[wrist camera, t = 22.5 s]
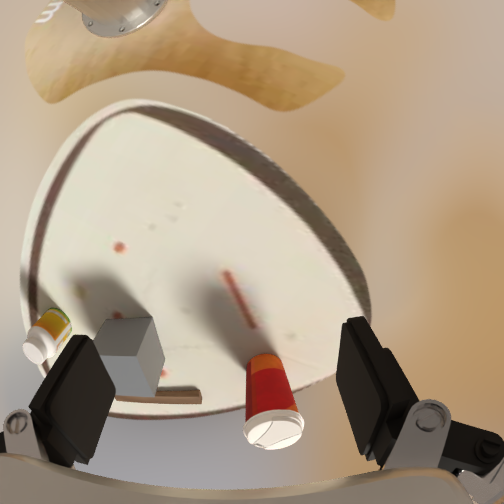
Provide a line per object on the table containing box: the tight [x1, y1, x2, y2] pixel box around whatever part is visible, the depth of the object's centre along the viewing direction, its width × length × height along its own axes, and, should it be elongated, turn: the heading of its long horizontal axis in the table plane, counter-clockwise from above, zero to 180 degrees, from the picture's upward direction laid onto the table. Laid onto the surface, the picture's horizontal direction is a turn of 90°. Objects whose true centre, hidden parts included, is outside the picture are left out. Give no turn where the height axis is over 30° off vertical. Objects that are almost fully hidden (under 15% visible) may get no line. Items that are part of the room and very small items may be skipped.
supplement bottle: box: [23, 308, 72, 364], centre depth 36 cm, size 5×5×10 cm
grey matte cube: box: [93, 317, 165, 397], centre depth 37 cm, size 8×8×9 cm
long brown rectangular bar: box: [115, 390, 202, 404], centre depth 45 cm, size 2×16×2 cm, turn 95°
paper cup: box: [243, 354, 304, 450], centre depth 37 cm, size 8×8×14 cm
